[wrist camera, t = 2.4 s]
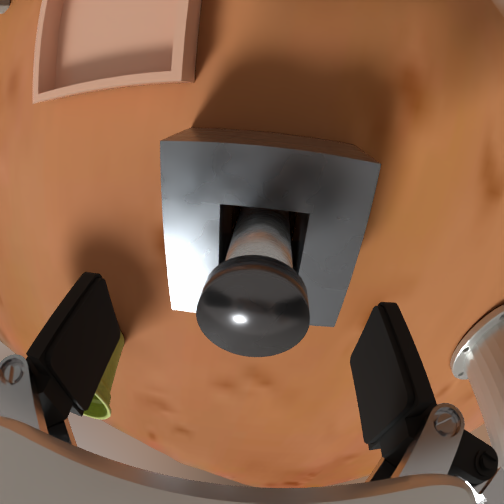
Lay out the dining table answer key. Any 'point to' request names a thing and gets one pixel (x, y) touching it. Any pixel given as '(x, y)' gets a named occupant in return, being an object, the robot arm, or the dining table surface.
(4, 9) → the egg carton
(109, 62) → the tray
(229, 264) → the pin
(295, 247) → the socket block
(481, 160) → the dining table surface
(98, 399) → the plant pot
